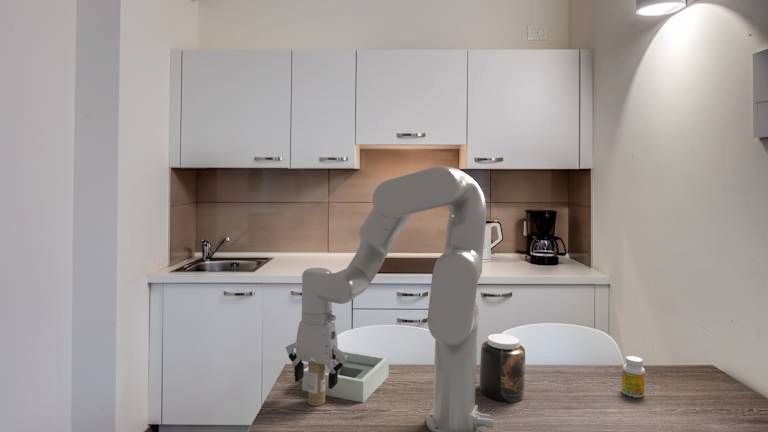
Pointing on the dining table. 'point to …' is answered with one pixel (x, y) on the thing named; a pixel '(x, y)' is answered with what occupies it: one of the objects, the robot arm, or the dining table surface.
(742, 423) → the dining table surface
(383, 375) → the open box
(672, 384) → the dining table surface
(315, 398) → the sprinkles bottle
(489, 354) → the jar
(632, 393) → the supplement bottle
